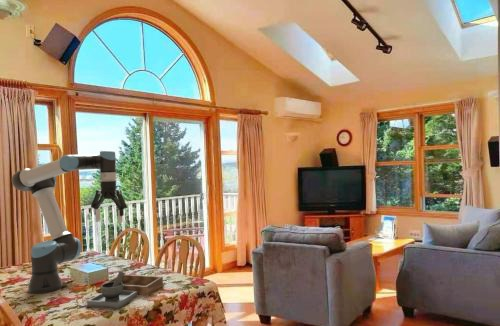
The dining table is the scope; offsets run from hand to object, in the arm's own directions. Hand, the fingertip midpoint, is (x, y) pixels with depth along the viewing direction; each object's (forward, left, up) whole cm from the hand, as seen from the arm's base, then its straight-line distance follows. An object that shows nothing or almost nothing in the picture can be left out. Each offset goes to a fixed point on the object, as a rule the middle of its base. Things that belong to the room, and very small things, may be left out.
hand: (109, 221), depth 201 cm
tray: (+15, -20, -33) cm, 41 cm away
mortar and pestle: (+15, -20, -32) cm, 41 cm away
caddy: (+15, -3, -33) cm, 36 cm away
